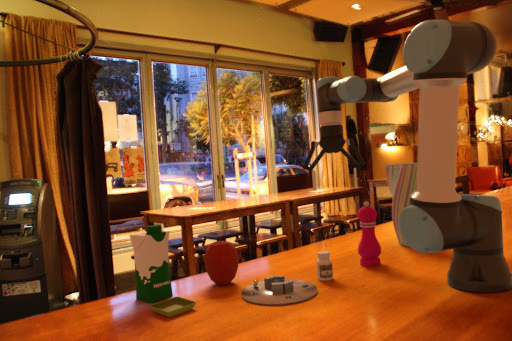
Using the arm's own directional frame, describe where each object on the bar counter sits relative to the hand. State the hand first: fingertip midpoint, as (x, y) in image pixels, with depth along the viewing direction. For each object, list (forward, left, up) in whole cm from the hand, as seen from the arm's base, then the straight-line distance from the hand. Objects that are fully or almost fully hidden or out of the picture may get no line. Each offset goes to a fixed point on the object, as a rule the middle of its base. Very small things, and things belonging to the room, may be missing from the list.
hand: (335, 189), depth 150 cm
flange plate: (-23, +29, -24) cm, 44 cm away
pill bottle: (-17, +13, -24) cm, 32 cm away
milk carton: (-11, +61, -24) cm, 67 cm away
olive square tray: (-24, +57, -25) cm, 67 cm away
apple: (-7, +41, -24) cm, 48 cm away
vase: (+9, -32, -24) cm, 41 cm away
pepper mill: (-9, -6, -24) cm, 27 cm away
